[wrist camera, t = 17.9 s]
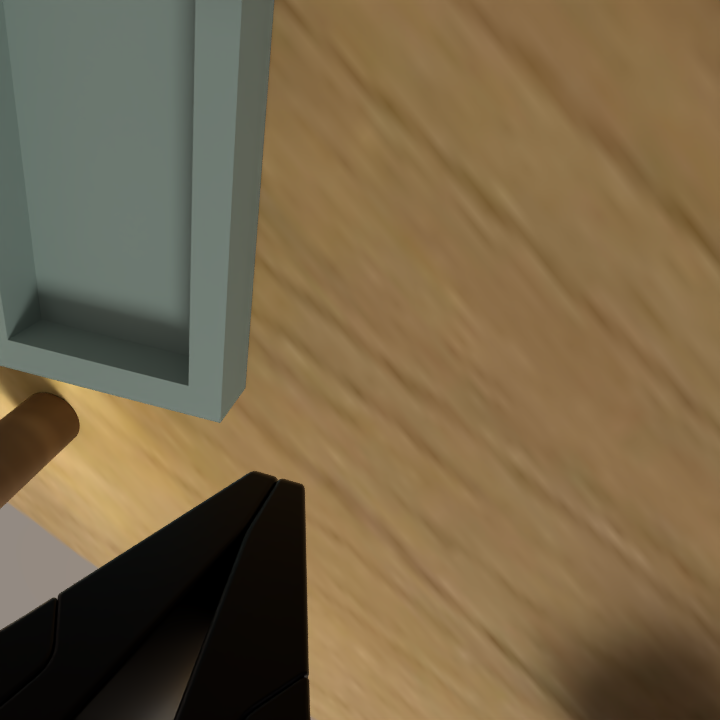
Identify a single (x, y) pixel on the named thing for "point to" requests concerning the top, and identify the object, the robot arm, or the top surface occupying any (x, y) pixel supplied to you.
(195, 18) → the teal box base
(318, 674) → the top surface
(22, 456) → the brown wooden peg
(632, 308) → the top surface
